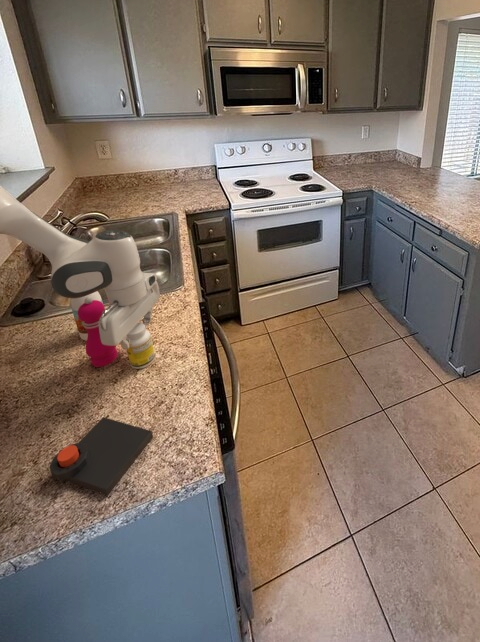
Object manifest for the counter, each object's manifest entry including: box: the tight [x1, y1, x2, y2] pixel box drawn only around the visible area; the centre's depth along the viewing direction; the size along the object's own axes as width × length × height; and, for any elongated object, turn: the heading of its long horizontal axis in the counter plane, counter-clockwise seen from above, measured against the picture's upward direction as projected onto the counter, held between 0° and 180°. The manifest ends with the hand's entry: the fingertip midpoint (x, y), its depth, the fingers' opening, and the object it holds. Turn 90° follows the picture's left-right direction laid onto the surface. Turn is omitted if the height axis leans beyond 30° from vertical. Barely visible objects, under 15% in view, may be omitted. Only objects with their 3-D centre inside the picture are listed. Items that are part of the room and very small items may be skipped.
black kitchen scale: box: [49, 416, 154, 497], centre depth 72 cm, size 14×13×4 cm
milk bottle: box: [70, 291, 104, 342], centre depth 106 cm, size 8×8×20 cm
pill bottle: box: [125, 322, 156, 370], centre depth 96 cm, size 6×6×11 cm
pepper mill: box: [78, 297, 119, 368], centre depth 96 cm, size 7×7×20 cm
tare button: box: [57, 444, 79, 467], centre depth 69 cm, size 3×3×2 cm
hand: (137, 334), depth 95 cm, fingers open, 8 cm apart
